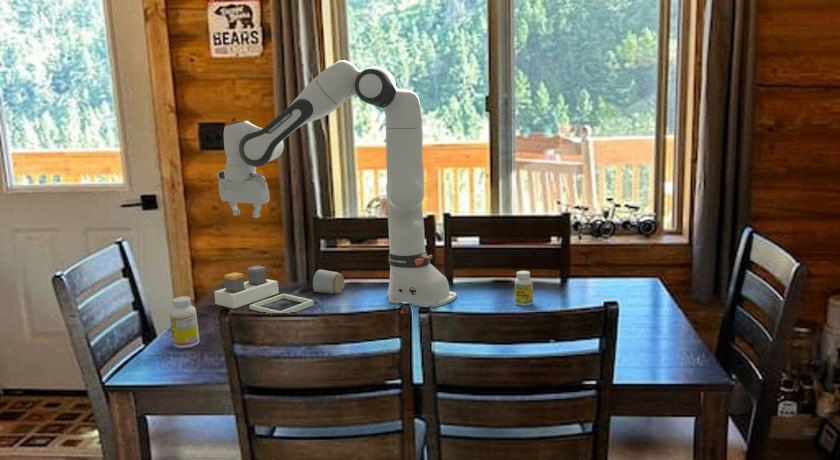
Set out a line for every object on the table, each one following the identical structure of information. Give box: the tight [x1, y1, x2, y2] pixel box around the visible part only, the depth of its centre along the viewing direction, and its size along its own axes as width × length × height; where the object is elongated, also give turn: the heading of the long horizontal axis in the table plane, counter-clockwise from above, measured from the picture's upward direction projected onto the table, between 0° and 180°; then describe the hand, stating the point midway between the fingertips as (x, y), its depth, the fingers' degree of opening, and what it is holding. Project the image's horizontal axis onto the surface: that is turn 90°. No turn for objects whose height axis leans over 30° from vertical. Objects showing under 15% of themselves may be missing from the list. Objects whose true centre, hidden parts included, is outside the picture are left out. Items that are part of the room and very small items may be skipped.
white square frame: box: [248, 293, 315, 314], centre depth 220 cm, size 14×14×2 cm
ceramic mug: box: [312, 269, 345, 295], centre depth 236 cm, size 11×8×8 cm
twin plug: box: [247, 265, 267, 286], centre depth 232 cm, size 4×4×9 cm
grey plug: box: [223, 271, 245, 293], centre depth 225 cm, size 4×4×9 cm
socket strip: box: [213, 278, 280, 309], centre depth 229 cm, size 9×18×5 cm, turn 143°
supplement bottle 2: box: [514, 270, 534, 307], centre depth 216 cm, size 5×5×10 cm
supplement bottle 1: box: [169, 296, 200, 349], centre depth 193 cm, size 7×7×13 cm
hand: (246, 216), depth 230 cm, fingers open, 8 cm apart
